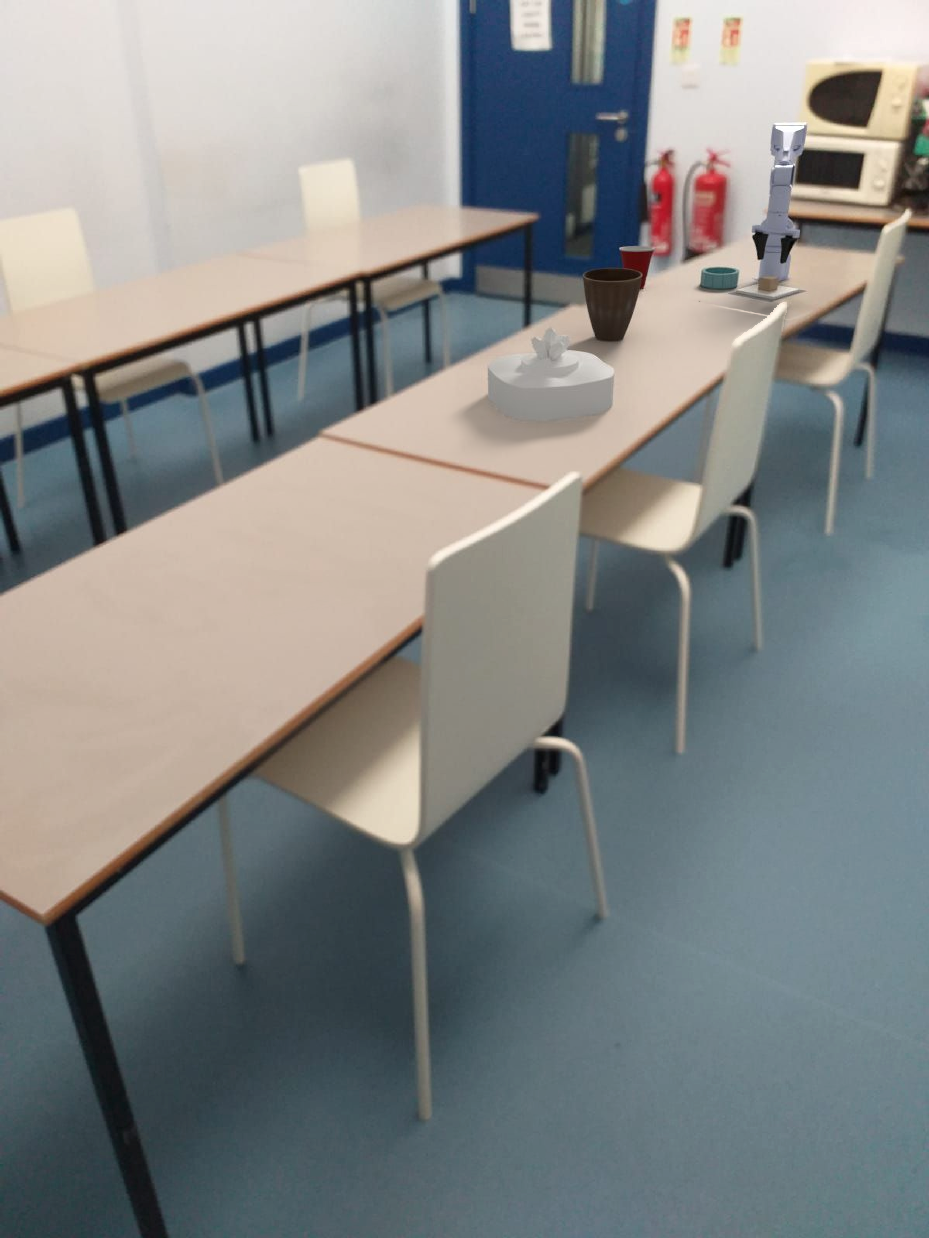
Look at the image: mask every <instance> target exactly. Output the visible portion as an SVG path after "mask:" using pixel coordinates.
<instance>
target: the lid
mask: <svg viewBox="0 0 929 1238" xmlns="http://www.w3.org/2000/svg"><path fill="white" fill-rule="evenodd" d="M779 282H780V281H779V277H775V276H769V275H766V276H763V277H759V280H758V283H756V284H752V285H749V286H745V287H742V288H739V289H735V291H736V293H740V294H746V295H751V296H756V297H762V298H767V299H772V300H774V299H777V298H780V297H784V296H787V295H790V294H793V293H797V292H799V290H800V288H796V287H790V286H784V285H779Z"/></svg>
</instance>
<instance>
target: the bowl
mask: <svg viewBox="0 0 929 1238" xmlns="http://www.w3.org/2000/svg"><path fill="white" fill-rule="evenodd" d="M700 273H701V274H700V282H699V284H700V285H699V286H702V287H703V288H706V289H710V290H711V289H712V290H728V289H733V288H736V287H737V286H738V285H739V276H740V269H738V268H735V267H730V266H709V267H705V268H702V269H701V271H700Z"/></svg>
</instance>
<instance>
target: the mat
mask: <svg viewBox="0 0 929 1238" xmlns="http://www.w3.org/2000/svg"><path fill="white" fill-rule="evenodd" d="M804 292H806V290H804V289H803V290H802V289H799V292H797V293H793V294H790V295H787V296H784V297H780V298H777V299H774V300H772V299H767V298H762V297H756V296H751V295H746V294H740V293H736V290H735V291H732V292H728V295H732V296H737V297H738V296H739V297H743V298H748V299H754V300H759V301H763V302H764V301H765V302H770V303H772V302H776V301H778V300H782V299H785V298H788V297H792V296H795V295H798V294H801V293H804Z"/></svg>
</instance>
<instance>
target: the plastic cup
mask: <svg viewBox="0 0 929 1238" xmlns="http://www.w3.org/2000/svg"><path fill="white" fill-rule="evenodd" d="M655 250H656V247H654V246H647V245H643V246H642V245H633V246H632V245H631V246H629V245H628V246H622V247H619V251H620V254H621V255H620V256H621V261H622V268H624V269H632V270H636V271H639V272H641V273H642V280H641V285H640V290H641V289H645V288H644V287H645V285H646V282H647V277H648V273H649V269H650V264H651V260H652V257H653V254H654V251H655Z"/></svg>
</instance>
